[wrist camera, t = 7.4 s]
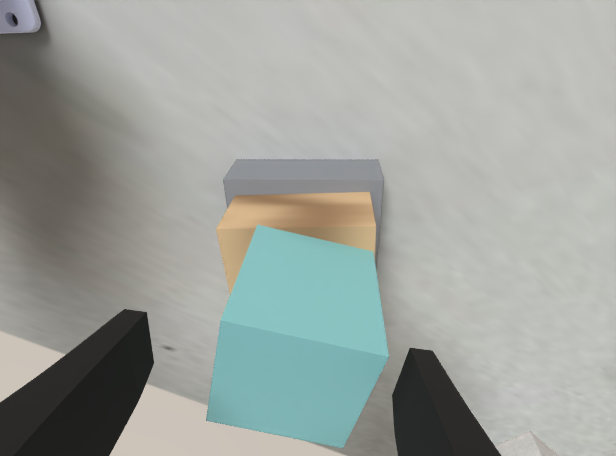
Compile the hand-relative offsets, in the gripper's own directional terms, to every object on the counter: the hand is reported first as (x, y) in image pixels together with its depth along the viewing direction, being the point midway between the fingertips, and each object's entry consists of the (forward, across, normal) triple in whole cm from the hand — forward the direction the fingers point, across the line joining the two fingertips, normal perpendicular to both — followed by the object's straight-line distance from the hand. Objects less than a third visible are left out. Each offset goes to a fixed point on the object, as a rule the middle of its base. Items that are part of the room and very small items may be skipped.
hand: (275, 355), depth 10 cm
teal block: (+5, 0, +1) cm, 5 cm away
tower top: (+8, 0, +2) cm, 8 cm away
